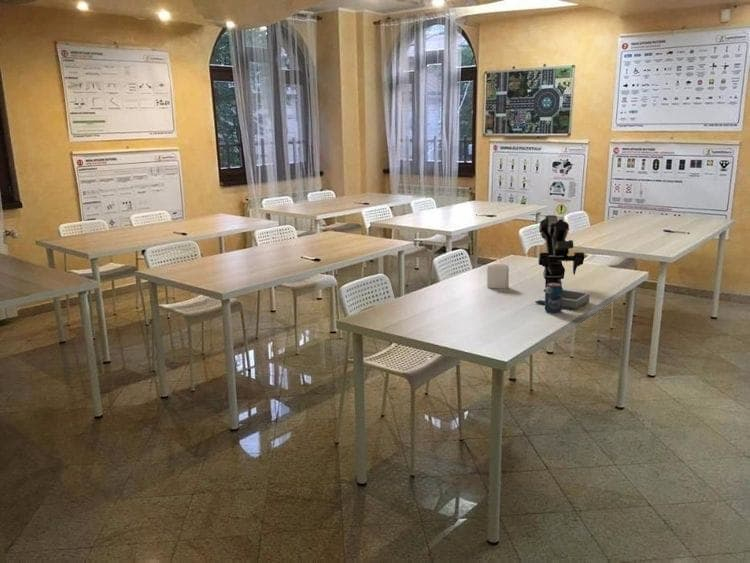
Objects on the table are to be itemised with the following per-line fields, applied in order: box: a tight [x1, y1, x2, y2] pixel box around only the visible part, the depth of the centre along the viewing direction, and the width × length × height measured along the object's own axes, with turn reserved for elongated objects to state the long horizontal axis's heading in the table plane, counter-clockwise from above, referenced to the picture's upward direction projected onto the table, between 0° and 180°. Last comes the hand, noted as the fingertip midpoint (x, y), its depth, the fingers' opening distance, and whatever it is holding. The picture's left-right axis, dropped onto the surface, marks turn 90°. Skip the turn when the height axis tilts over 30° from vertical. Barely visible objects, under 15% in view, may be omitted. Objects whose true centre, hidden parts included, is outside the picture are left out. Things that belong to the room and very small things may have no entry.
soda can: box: [544, 282, 564, 315], centre depth 265 cm, size 7×7×12 cm
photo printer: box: [486, 262, 510, 290], centre depth 304 cm, size 10×4×12 cm, turn 70°
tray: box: [562, 289, 590, 311], centre depth 276 cm, size 14×14×4 cm
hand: (563, 274), depth 269 cm, fingers open, 9 cm apart
